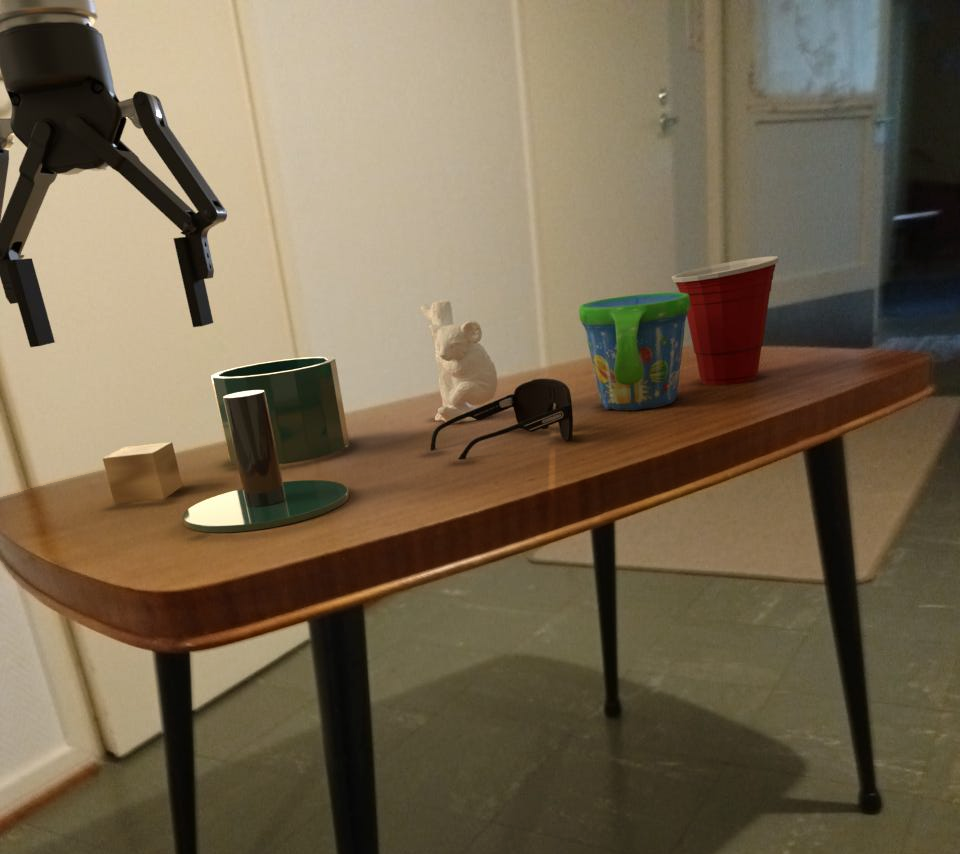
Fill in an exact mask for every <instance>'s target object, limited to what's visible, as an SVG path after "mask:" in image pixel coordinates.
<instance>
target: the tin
mask: <svg viewBox="0 0 960 854" xmlns="http://www.w3.org/2000/svg"><path fill="white" fill-rule="evenodd" d="M338 373H339V372H338V367H337V360H336V358H333V357H332V356H310V357H297V358H296V357H295V358H287V359H280V360H272V361H266V362H259V363H253V364H248V365H243V366H238V367H232V368H230V369H226V370H222V371H218V372H216V373H214V374H212V375H211V376H210V377H211V382H212V387H213V391H214V396H215V401H216V406H217V410H218V415H219V418H220V424H221V428H222V433H223V437H224V441H225V442H224V443H225V447H226V452H227V456H228V460H229V462H230V464H231V465H236V466H238V464H237V460H236V455H235V450H234V446H233V441H232V436H231V432H230V427H229V422H228V418H227V413H226V408H225V404H224V399H223V397H224V396H226V395H229V394H233V393H238V392H244V391H251V390H264V391H265V394H266V399H267V404H268V409H269V414H270V419H271V424H272V429H273V434H274V439H275V444H276V449H277V454H278V460H279V465H285V464H292V463H296V462H301V461H307V460H313V459H316V458H320V457H325V456H327V455H332V454H334V453H336V452H338V451H341V450H343V449H345V448H350V439H349V433H348V426H347V421H346V420H347V419H346V415H345V409H344V403H343V396H342V392H341V386H340V379H339V374H338Z"/></svg>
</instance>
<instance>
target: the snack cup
mask: <svg viewBox="0 0 960 854" xmlns="http://www.w3.org/2000/svg"><path fill="white" fill-rule="evenodd" d="M689 309H690V299H689V295H688V294H686V293H680V292H653V293H642V294H633V295H624V296H617V297H609V298H603V299H599V300H593V301H589V302H585V303H583V304H581V305H580V306H579V308H578V310H579V312H578V313H579V320H580V323H581V325H582V326H583V327H584V330H585V333H586V339H587V340H586V341H587V345H588V350H589V356H590V360H591V365H592V370H593V374H594V378H595V383H596V388H597V392H598V396H599V398H600V402H601V404H602V406H603V407H604V409H605V410H606V411H611V410H615V411H617V412H618V411H619V412H633V411H634V412H635V411H643V410H652V409H658V408H661V407H665V406H669V405H671V404H673V402H674V401H675V400H676V398H677V395H678V389H679V381H680V372H681V364H682V356H683V346H684V339H685V327H686V326H685V325H686V320H687V315H688V311H689Z"/></svg>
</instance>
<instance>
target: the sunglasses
mask: <svg viewBox="0 0 960 854" xmlns="http://www.w3.org/2000/svg"><path fill="white" fill-rule="evenodd" d="M554 405H555V408H554ZM511 408H513V411H514V412H513V413H514V415H515V419H516V422H517V423H516V424H513V425H511V426H508V427H505V428H502V429H499V430H496V431H494V432H491V433H487V434H484V435H481V436H478V437H476V438H474V439H473V440H471V441H470V442H469V443H468V444H467V445H466V447H465V448H464V449H463V451H462V453H461V454H460V455H459V457H457V458H458V459H457V460H466V459H467V455H468V454H469V452H470V450H471V449H472V448H473V447H474V446H475V445H476V444H478V443H480V442H481V441H484V440H488V439H491V438H495V437H498V436H501V435H504V434H507V433H510V432H513V431H516V430H519V429H521V430H524V431H527V432H529V433H532V432H533V433H534V432H536V431H538V430H547V429H548V428H549V426H551V425H554V424H557V423H558V426H559V431H560V436H561V438H562V439H563V440H564V441H567V442H570V441H572V439H573V432H574V428H573V427H574V415H573V402H572V395H571V390H570V388H569V387H568V385H567V384H566V383H564V382H563V381H561V380H558V379H555V378H544V377H543V378H542V377H541V378H534V379H531V380H529V381H527V382H523V383H521V384H520V385H518V386H517V387H515V389H514V392H513V393H511V394H508V395H506V396H504V397H501V398H499V399H496V400H493V401H492V402H489V403H486V404H483V405H482V406H479V407H478V408H477V409H474V410H472V411H469V412H467V413H464V414H462V415H460V416H457V417H455V418H453V419H451V420H449V421H447V422H445V421H444V422H443V423H441V424H439V425H438V426H437V427H436V428H435V429H434V431H433V433H432V436H431V440H430V451H432V452H433V451H435V450H436V442H437V438H438V437H437V436H438V434H439V433H440V432H441V430H443V429H445V428H447V427H448V426H450V425H453V424H452V423H455V422H457V421H459V420H462V419H464V418H467V417H472V418H474V419H477V420H476V421H482V420H484V419H487V418H489V417H492V416H494V415H496V414H499V413H501V412H503V411H506V410H509V409H511ZM455 424H456V423H455Z"/></svg>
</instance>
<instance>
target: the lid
mask: <svg viewBox="0 0 960 854" xmlns="http://www.w3.org/2000/svg"><path fill="white" fill-rule="evenodd" d="M223 399H224V404H225V408H226V413H227V418H228V422H229V427H230V432H231V436H232V441H233V446H234V450H235V455H236V460H237V464H238V465H237V469H238V473H239V477H240V482H241V487H242V488H241V489H236V490H233V491H228V492H225V493H222V494H219V495H216V496H215V495H214V496H212V497H210V498H207V499H205V500H202V501H200V502H198V503H196V504H194V505H192V506H191V507H188V508H187V509H186V510H185V511H184V513H183V514H182V522H183V524H184V526H185V527H186V528H188V529H190V530H193V531H195V532H196V531H197V532H201V533H202V532H203V533H219V534H220V533H221V534H223V533H242V532H251V531H258V530H265V529H270V528H277V527H282V526H286V525H290V524H295V523H299V522H303V521H306V520H309V519H313V518H316V517H319V516H322V515H324V514H327V513H329V512H332V511H333V510H336V509H337V508H339V507H341V506H342V505H343V504H345V503H346V502H347V501H348V499H349V497H350V492H349V488H348V487H347V486H346V485H345V484H343V483H340V482H338V481H337V482H336V481H331V480H322V479H321V480H320V479H319V480H318V479H310V480H309V479H307V480H306V479H305V480H304V479H303V480H289V481H284V480H283V475H282V470H281V464H279V460H278V454H277V449H276V444H275V439H274V434H273V429H272V424H271V419H270V414H269V409H268V404H267V399H266V394H265V391H264V390H251V391H244V392H238V393H233V394H229V395H226V396H224V397H223Z"/></svg>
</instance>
